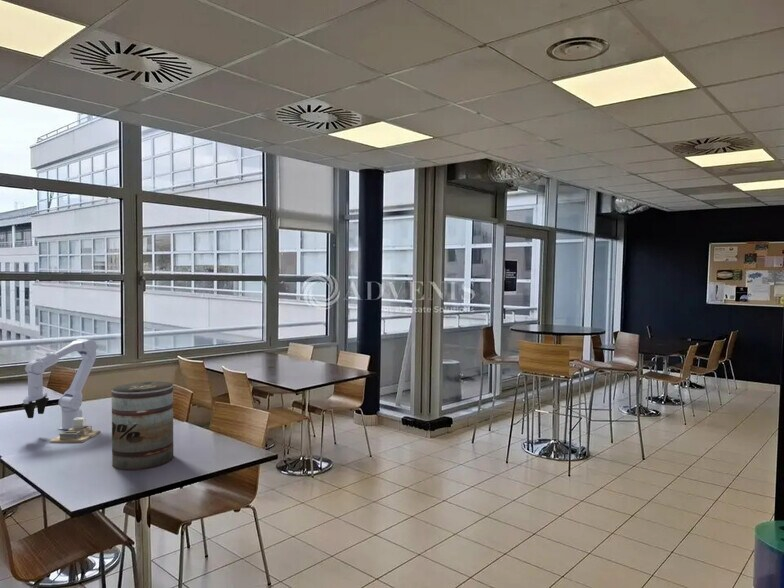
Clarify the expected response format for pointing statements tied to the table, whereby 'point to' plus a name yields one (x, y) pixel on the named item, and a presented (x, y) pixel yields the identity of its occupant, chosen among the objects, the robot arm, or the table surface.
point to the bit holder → (75, 435)
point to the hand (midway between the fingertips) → (35, 415)
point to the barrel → (142, 425)
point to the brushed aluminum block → (79, 423)
